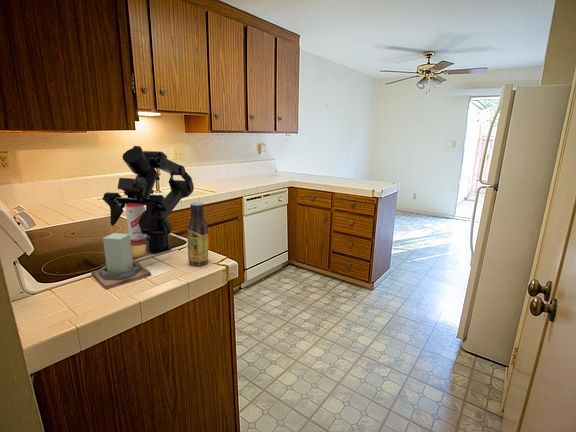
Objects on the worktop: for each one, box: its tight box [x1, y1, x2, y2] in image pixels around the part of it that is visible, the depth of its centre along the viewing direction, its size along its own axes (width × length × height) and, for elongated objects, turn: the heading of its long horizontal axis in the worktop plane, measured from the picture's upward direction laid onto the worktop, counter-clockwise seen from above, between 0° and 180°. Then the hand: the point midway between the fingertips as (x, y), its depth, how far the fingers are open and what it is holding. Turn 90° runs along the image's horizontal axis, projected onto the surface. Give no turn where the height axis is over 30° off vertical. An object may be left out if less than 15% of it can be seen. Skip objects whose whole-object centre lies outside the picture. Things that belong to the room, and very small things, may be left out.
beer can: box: [125, 204, 147, 246], centre depth 115 cm, size 6×6×16 cm
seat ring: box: [98, 260, 142, 280], centre depth 90 cm, size 10×10×2 cm
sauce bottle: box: [186, 201, 209, 267], centre depth 98 cm, size 6×6×20 cm
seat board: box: [91, 265, 152, 290], centre depth 91 cm, size 12×12×1 cm
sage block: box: [102, 232, 134, 273], centre depth 89 cm, size 4×5×11 cm
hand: (126, 226), depth 92 cm, fingers open, 9 cm apart
